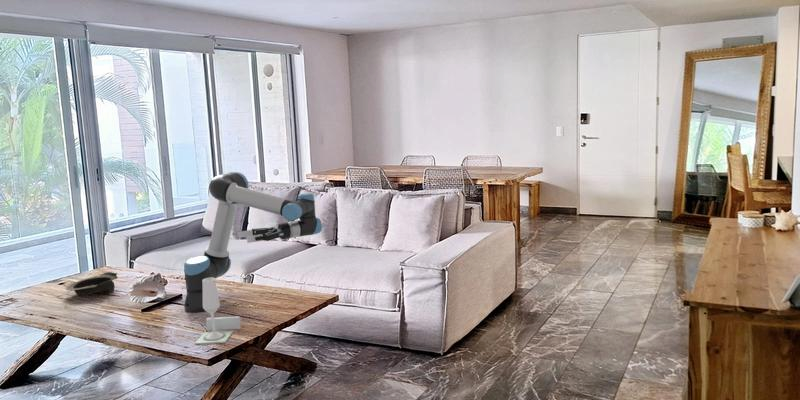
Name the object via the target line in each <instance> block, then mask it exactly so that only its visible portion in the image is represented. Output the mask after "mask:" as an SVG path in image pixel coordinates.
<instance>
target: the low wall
mask: <svg viewBox="0 0 800 400" xmlns="http://www.w3.org/2000/svg"><path fill="white" fill-rule="evenodd" d="M214 320H215V329H216V331H231V330H241V329H242V323H241V322H242V321H241V316H222V317H214ZM205 322H206V323H205V324H206V332H211V331H213V330H212V321H211V317H207V318H206V319H205Z"/></svg>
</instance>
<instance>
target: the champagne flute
mask: <svg viewBox="0 0 800 400" xmlns="http://www.w3.org/2000/svg"><path fill="white" fill-rule="evenodd" d="M202 284H203V309H204V310H205V311H204V312H206V313H208V314H210V318H211V321H212V330H211V332H212V333H211V334H209V335H208V336H207V337H206V338H207V339H210V340H212V339H218V338H221V337H222V336H223V334H221V333H218V332H216V331H217V330H216V329H215V320H214V318H215V313H216V312H217V311H218V310H219V309H220V306H221V302H220V297H219V294H218V288H217V282H216V279H215V278H205V279H203V280H202Z"/></svg>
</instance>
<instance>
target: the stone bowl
mask: <svg viewBox="0 0 800 400" xmlns="http://www.w3.org/2000/svg"><path fill="white" fill-rule="evenodd" d="M117 274H118V273H117V272H116V273H115V272H110V271H108V272H104V273H101V274H99V275H94V276H91V277H87V278H83V279H80V280H77V281H75V282H73V283H70V284H69V285H68V286H67V287H65V289H66V291H74V293H75V294H76V295H77V296H78V295H79V296H78V297H81V296H87V295H88V296H89V295H91V294H95V293H102V292H103V293H102V294H104V295H109V294H108V293H110V294H111V293H113V291H114V290H115V282H114V281H115V280H116V279H118V276H117Z"/></svg>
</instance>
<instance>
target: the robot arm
mask: <svg viewBox="0 0 800 400" xmlns="http://www.w3.org/2000/svg"><path fill="white" fill-rule="evenodd" d="M208 189H209V193H210V195H211V196H212V198H214V199H216V200H217V201H218V204H217V210H216V213H215V218H214V223H213V227H212V232H211V236H210V241H209V246H207V247H206V248H205V249H204V252H203V255H199V256H194V257H190V258H188V259H187V260H186V261H185V262H184V264H183V268H184V269H183V273H184V279H185V287H186V289H185V290H186V296H185V301H184V303H183V304H184V306H183V307H184V311H186V312H189V313H200V312H206V311H205V310H204V309H203V284H202V280H203V279H205V278H215V280H216V279H217V278H220V277H222V276H224V275H225V274H226V273H228V271H229V270H230V268H231V265H232V260H231V258H230V252H229V251H228V247H229V241H230V238H231V233H232V229H233V226H234V225H233V224H234V221H235V216H236V211H237V206H238V205H243V206H246V207H250V208H253V209H257V210H260V211H263V212H268V213H270V214H275V215H278V216H281V217H283V218H284V219H285V220H287V221H288V222H279V223H278V226H277V227H274V226H271V227H260V228H251V229H247V230H241V231H237V238H238V239H242V238H246V241H247V242H246V243H247V244H250V243H256V242H262V241H265V242H269V241H272V240H276V239H280V240H287V239H288V240H289V239H297V238H299V237H305V236H306V237H307V236H314V235H318V234H320V233H321V232H322V229H323V225H322V220H321V219H320V217H316V200H315V196H314V193H310V192H309V193H308V192H304V193H299V194H298V195H297V200H296V201H292V200H290V199H285V198H282V197H279V196H276V195H271V194H268V193H264V192H261V191H258V190H254V189H251V188H249V180H248V179H247V177H246V176H245V175H244V174H243V173H241V172H238V171H230V172H228V173H223V174H218V175H216V176H214V177H213V178H212V179H211V180H210V183H209V188H208Z"/></svg>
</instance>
